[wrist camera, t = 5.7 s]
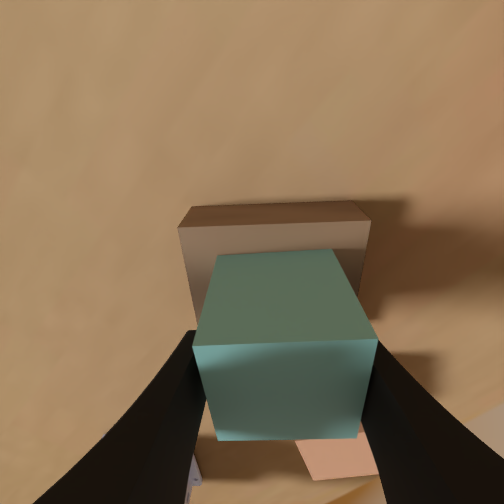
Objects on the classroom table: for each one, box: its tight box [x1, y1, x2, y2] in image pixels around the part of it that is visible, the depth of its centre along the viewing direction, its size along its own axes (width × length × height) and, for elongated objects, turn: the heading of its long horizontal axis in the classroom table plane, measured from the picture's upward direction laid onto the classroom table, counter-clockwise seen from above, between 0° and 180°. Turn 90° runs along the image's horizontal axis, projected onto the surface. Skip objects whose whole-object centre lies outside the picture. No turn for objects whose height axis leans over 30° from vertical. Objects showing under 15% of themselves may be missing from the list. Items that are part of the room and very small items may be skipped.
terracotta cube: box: [295, 421, 379, 481], centre depth 17 cm, size 5×5×5 cm
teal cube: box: [192, 249, 378, 441], centre depth 10 cm, size 5×5×5 cm
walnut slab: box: [177, 201, 371, 325], centre depth 14 cm, size 8×8×3 cm
